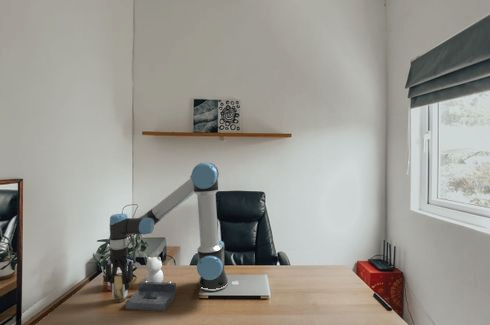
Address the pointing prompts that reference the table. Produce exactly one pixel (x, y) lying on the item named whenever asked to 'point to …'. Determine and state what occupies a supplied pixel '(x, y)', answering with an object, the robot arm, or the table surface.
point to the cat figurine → (154, 269)
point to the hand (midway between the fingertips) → (119, 296)
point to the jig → (152, 296)
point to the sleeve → (118, 287)
